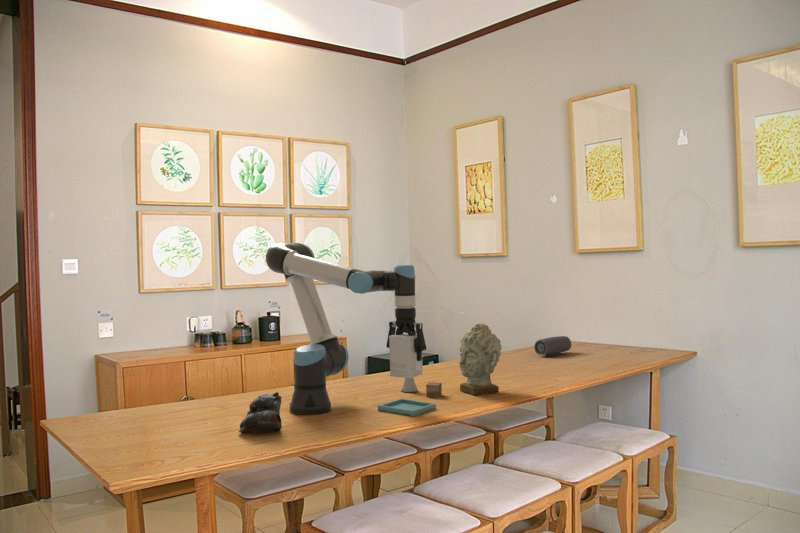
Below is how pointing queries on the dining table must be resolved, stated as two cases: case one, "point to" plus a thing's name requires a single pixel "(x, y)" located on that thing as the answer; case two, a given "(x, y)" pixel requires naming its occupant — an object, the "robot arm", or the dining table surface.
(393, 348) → the supplement box
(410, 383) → the flask
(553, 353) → the bluetooth speaker
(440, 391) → the walnut block
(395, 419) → the dining table surface
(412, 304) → the robot arm
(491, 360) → the buddha head
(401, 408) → the tray
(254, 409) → the lucky cat figurine
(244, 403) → the dining table surface
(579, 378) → the dining table surface
